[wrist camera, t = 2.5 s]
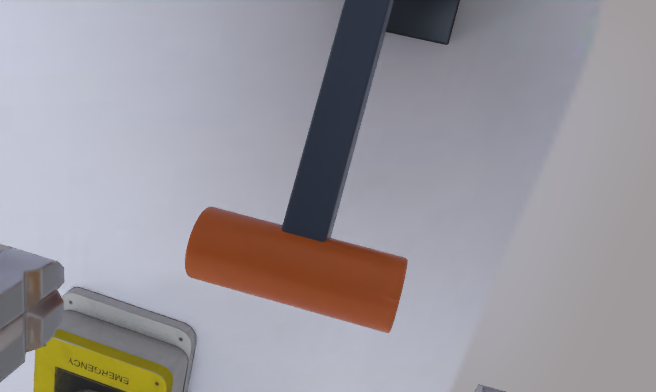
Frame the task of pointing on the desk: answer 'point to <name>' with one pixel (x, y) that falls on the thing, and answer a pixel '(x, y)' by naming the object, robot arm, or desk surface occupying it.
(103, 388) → the emergency button
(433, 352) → the desk surface
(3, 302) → the robot arm
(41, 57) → the desk surface
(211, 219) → the switch lever
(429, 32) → the switch bracket
